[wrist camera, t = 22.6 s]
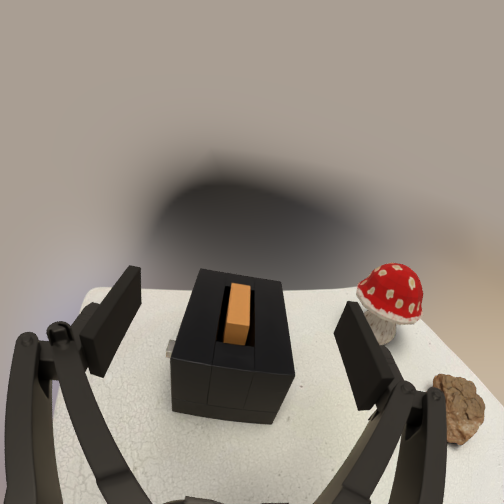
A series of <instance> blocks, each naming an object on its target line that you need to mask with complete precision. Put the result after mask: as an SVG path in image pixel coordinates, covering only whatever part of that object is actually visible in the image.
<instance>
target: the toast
mask: <svg viewBox="0 0 504 504" xmlns="http://www.w3.org/2000/svg"><path fill="white" fill-rule="evenodd" d="M249 326H250V286H248V285H242V284H235V283H232V284H231V290H230V296H229V302H228V308H227V314H226V320H225V326H224V332H223V340H222V342H224V343H230V344H237V345H244V346H245V343H246V339H247V335H248V330H249Z"/></svg>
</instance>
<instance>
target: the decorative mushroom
mask: <svg viewBox="0 0 504 504" xmlns="http://www.w3.org/2000/svg"><path fill="white" fill-rule="evenodd" d="M356 295H357V297H358V298H359V300H360V301H361V303H362V304H363V306H364V307H365V308H367V309H368V310H367V311H366V312H364V315H365V317H366V319H367V321H368V323H369V325H370V327H371V329H372V331H373V333H374V335H375V337H376V339H377V341H378V343H379V345H384V344H387V343H389V342H390V341H391V340H392V339H393V338H394V336H395V333H396V324H398V325H408V324H414V323H416V322H417V321H418V320H419V319H420V318H421V317H422V316H423V314H422V308H421V303H422V298H423V291H422V286H421V282H420V280H419V278H418V276H417V274H416V273H415V272H413V271H412V270H411V269H410V268H409V267H407V266H405V265H403V264H397V263H389V264H385V265H382V266H380V267H378V268H376V269H374V270H373V271H372V273H371V274H370V275H369V276H368V277H367V278H366V279H365V280H363V281H361V282H359V283H358V286H357V292H356Z"/></svg>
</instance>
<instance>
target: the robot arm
mask: <svg viewBox="0 0 504 504" xmlns="http://www.w3.org/2000/svg"><path fill="white" fill-rule="evenodd" d="M141 304H142V303H141V268H140V267H135V266H129V267H128V268H127V269H126V270H125V272H124V273H123V274H122V276H121V277H120V278H119V280H118V281H117V282H116V283H115V285H114V286H113V287H112V289H111V290H110V291H109V293H108V294H107V295H106V297H105V298H104V300H103V301H102V302H101V304H97V303H94V302H92V303H90V304H89V305H87V306H85V308H84V309H83V310H82V312H81V314H79V316H78V317H77V318H76V320H75V321H74V323H73V324H72V325H71V326H70V325H69V324H68V323H66V322H63V321H59V322H55V323H52V324H51V325H50V326H49V327H48V328H47V336H48V339H49V341H40V340H38V337H37V336H36V334H34V333H33V332H25V333H23V334H21V335H20V336H19V337H18V339H17V340H16V344H15V349H14V354H13V359H12V365H11V371H10V378H9V384H8V392H7V402H6V415H5V469H6V481H7V489H6V494H5V499H4V504H63V500H62V494H61V489H60V484H59V478H58V472H57V465H56V457H55V448H54V437H53V421H52V380H58V381H59V383H60V387H61V390H62V394H63V397H64V400H65V404H66V407H67V410H68V413H69V416H70V419H71V422H72V424H73V427H74V430H75V432H76V435H77V438H78V440H79V443H80V445H81V447H82V450H83V452H84V454H85V457H86V459H87V461H88V463H89V465H90V467H91V470H92V472H93V474H94V476H95V478H96V483H97V486H98V488H99V490H100V492H101V493H102V495H103V497H104V499H105V501H106V502H107V504H152V502H151V501H150V499H149V498H148V497H147V495H146V494H145V492H144V491H143V489H142V488H141V486H140V484H139V483H138V481H137V480H136V478H135V476H134V475H133V473H132V472H131V470H130V468H129V467H128V465H127V463H126V461H125V460H124V458H123V456H122V454H121V452H120V450H119V449H118V447H117V445H116V443H115V441H114V439H113V437H112V435H111V433H110V431H109V429H108V427H107V425H106V422H105V420H104V418H103V416H102V414H101V411H100V409H99V407H98V404H97V402H96V400H95V397H94V395H93V392H92V390H91V387H90V384H89V382H88V379H87V376H86V373H85V372H86V370H87V368H89V371H90V374H93V375H96V376H99V377H102V378H104V376H105V374H106V372H107V370H108V368H109V365H110V363H111V361H112V359H113V357H114V355H115V353H116V351H117V349H118V347H119V345H120V343H121V341H122V339H123V338H124V336H125V334H126V332H127V330H128V328H129V326H130V324H131V322H132V320H133V318H134V317H135V315H136V313H137V311H138V309H139V307H140V306H141ZM334 336H335V339H336V342H337V345H338V348H339V351H340V354H341V357H342V360H343V363H344V366H345V369H346V373H347V376H348V379H349V382H350V385H351V389H352V392H353V395H354V398H355V402H356V405H357V408H358V411H361V410H370V409H371V408H372V407H373V406H374V404H376V407H377V410H376V411H375V412H374V413H373V414H372V415H371V417H370V418H369V419H368V420H370V421H369V423H368V424H367V426H366V428H365V430H364V431H363V433H362V435H361V436H360V438H359V440H358V441H357V443H356V445H355V446H354V448H353V449H352V451H351V453H350V454H349V456H348V457H347V459H346V460H345V462H344V463H343V465H342V466H341V468H340V469H339V470H338V472H337V473H336V475H335V476H334V477H333V479H332V480H331V482H330V483H329V484H328V486H327V487H326V488H325V490H324V491H323V492H322V493H321V495H320V496H319V497H318V498H317V500H316V501H315V502H314V503H313V504H371V500H370V496H371V494H372V493H373V491H374V489H375V487H376V486H377V484H378V482H379V480H380V478H381V476H382V474H383V473H384V471H385V469H386V467H387V465H388V463H389V461H390V458H391V456H392V454H393V452H394V450H395V448H396V445H397V443H398V441H399V439H400V436H401V442H400V449H399V455H398V461H397V467H396V472H395V477H394V482H393V486H392V491H391V495H390V499H389V503H388V504H443V497H444V488H445V477H446V460H447V418H446V400H445V395H444V393H443V392H442V391H441V390H440V389H439V388H436V387H431V388H429V389H428V391H427V392H421V391H417V390H416V389H415V387H414V386H413V384H411V383H410V382H408V381H404V379H403V377H402V375H401V373H400V371H399V369H398V367H397V365H396V364H395V361H394V359H393V357H392V355H391V353H390V351H389V350H388V349H387V348H386V347H385V346H384V345H379V343H378V341H377V339H376V337H375V335H374V333H373V331H372V329H371V327H370V325H369V323H368V321H367V319H366V317H365V315H364V313H363V311H362V309H361V307H360V306H359V304H358V302H352V301H347V304H346V306H345V308H344V311H343V313H342V315H341V318H340V320H339V322H338V324H337V327H336V329H335V331H334ZM401 434H402V435H401ZM164 504H223V503H220V502H217V501H214V500H209V499H202V498H195V497H189V496H185V500H175V501H170V502H166V503H164ZM262 504H289V503H262Z"/></svg>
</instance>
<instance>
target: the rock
mask: <svg viewBox="0 0 504 504" xmlns="http://www.w3.org/2000/svg"><path fill="white" fill-rule="evenodd" d="M433 387H436V388H439V389H440V390H441V391H442V392H443V393H444V395H445V400H446V418H447V441H448V442H450V443H453V442H454V443H457V444H458V445H463V444H464V443H465V442H467V441H468V439H470V438H471V437H472V436H473V435H474V434H475V433H476V432H477V430H478V428H479V426H480V425H481V424H482V423H483V421H484V410H485V404H484V402H483V400H482V398H481V397H480V396H479V395H477V394H476V387H475V385H474V383H473V382H472V381H467V380H466V379H465V378H461V377H453V376H451V375H445V374H438V376H435V377H434V379H433Z"/></svg>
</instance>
